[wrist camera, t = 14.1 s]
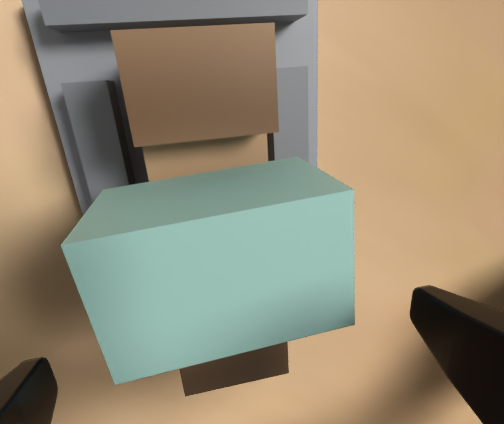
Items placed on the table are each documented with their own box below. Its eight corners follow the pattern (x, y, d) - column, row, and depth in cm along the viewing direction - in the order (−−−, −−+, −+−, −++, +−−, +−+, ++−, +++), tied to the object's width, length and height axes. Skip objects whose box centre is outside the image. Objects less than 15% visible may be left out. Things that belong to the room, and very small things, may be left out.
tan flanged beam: (138, 53, 13) (109, 30, 8) (239, 46, 13) (274, 22, 8) (184, 305, 17) (185, 396, 12) (258, 292, 18) (288, 373, 13)
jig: (31, 0, 12) (-3, -20, 10) (308, -9, 14) (333, -27, 12) (123, 335, 18) (114, 370, 16) (310, 299, 20) (327, 326, 18)
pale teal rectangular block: (297, 156, 11) (354, 189, 8) (304, 256, 13) (354, 324, 9) (103, 189, 10) (60, 245, 7) (135, 293, 12) (114, 384, 8)
